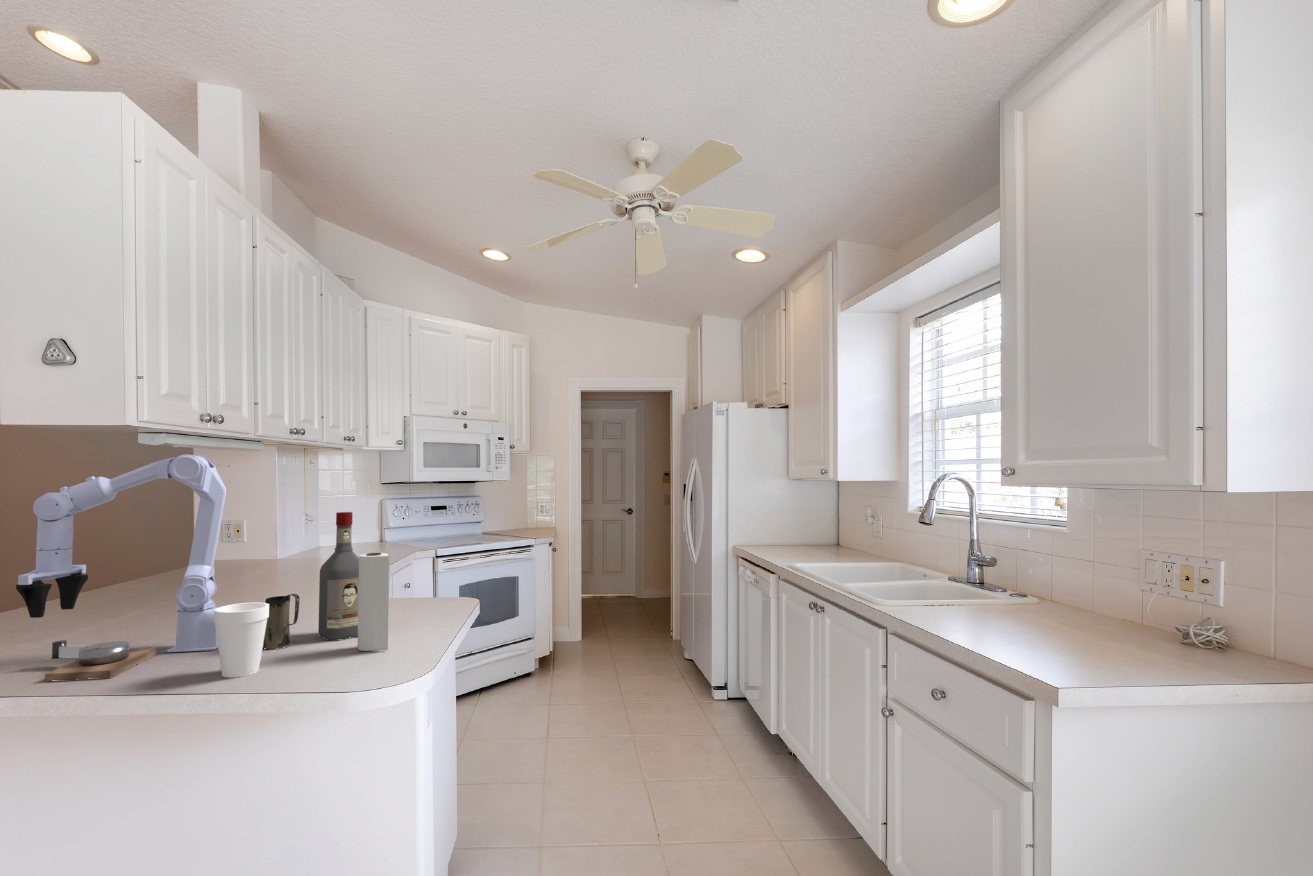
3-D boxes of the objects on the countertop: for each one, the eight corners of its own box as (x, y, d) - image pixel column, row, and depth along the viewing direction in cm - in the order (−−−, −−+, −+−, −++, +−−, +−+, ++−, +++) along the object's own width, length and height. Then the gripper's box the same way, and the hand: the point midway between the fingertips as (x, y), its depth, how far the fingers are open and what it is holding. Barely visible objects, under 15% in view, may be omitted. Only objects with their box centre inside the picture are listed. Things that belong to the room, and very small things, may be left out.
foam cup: (204, 682, 126) (206, 613, 126) (221, 667, 135) (223, 604, 135) (260, 677, 128) (262, 610, 129) (273, 663, 137) (275, 601, 138)
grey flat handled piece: (139, 653, 138) (139, 637, 139) (104, 665, 130) (105, 648, 131) (72, 652, 139) (72, 636, 140) (34, 663, 131) (34, 647, 132)
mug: (256, 649, 148) (257, 595, 149) (274, 642, 154) (275, 591, 154) (288, 650, 147) (289, 596, 147) (304, 644, 152) (306, 592, 153)
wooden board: (155, 655, 144) (156, 647, 144) (110, 678, 128) (110, 669, 128) (98, 658, 141) (98, 650, 141) (44, 682, 126) (45, 673, 126)
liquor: (315, 635, 160) (318, 512, 161) (353, 628, 167) (355, 510, 168) (329, 642, 154) (331, 514, 155) (368, 635, 160) (370, 512, 162)
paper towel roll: (356, 646, 150) (358, 553, 151) (385, 643, 153) (386, 551, 154) (358, 654, 144) (360, 556, 145) (388, 651, 147) (389, 555, 148)
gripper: (63, 545, 147) (61, 606, 146) (3, 553, 132) (0, 621, 132) (96, 544, 147) (94, 605, 147) (39, 553, 133) (37, 620, 132)
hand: (52, 613), depth 139 cm, fingers open, 7 cm apart
